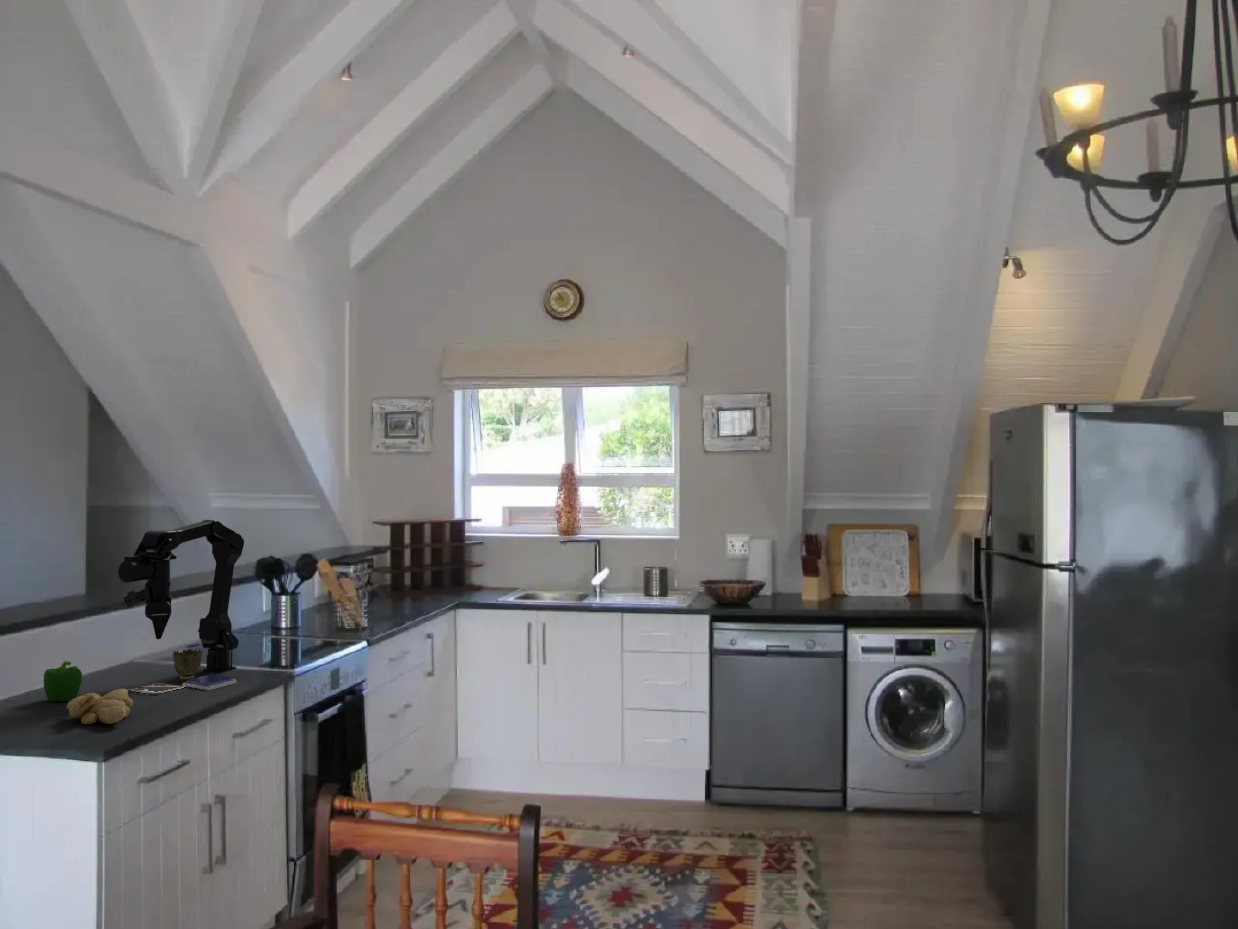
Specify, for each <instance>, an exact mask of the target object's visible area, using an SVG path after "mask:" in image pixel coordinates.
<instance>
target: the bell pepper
mask: <svg viewBox="0 0 1238 929" xmlns="http://www.w3.org/2000/svg"><path fill="white" fill-rule="evenodd" d="M71 664H72V662H71V661H70V660H66V661H63V662H62V663H61V666H59V667H57V668H47V669H45V671H44V673H43V687H44V693H45V696H46V699H47V700H48V701H50V702H51V703H52V702H56V703H57V701H58V702H70V701H71V700H72V699H75V698H77V697H78V695H79V692H80V689H81V686H82V682H83V681H82V680H83V673H82V671H81V669H79V667H78V666H77V665H72V666H71ZM67 666H68V667H67Z"/></svg>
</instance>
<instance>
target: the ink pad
mask: <svg viewBox="0 0 1238 929" xmlns="http://www.w3.org/2000/svg"><path fill="white" fill-rule="evenodd" d="M234 684H237V679H235V678H233V677H232V676H226V675H225V676H224V675H218V674H212V673H211V674H207V675H203V676H198V677H195V678H194V679H190V680H186V681H183V682H182V686H184V687H186V688H188V687H192V688H191V689H195V688H197V690H203V691H211V690H215V689H220V688H223V687H227V686H230V685H234Z"/></svg>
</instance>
